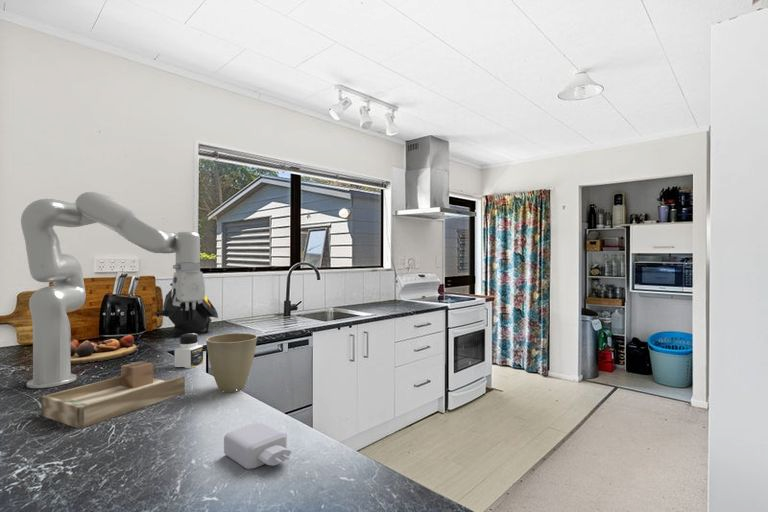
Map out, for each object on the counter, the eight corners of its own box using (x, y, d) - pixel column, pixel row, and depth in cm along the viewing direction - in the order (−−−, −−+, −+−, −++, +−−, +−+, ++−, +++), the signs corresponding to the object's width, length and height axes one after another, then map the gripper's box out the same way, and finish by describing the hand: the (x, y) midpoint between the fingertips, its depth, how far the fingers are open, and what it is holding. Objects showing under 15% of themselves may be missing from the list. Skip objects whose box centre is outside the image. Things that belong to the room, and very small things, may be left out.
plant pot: (210, 400, 114) (210, 344, 114) (202, 386, 127) (202, 336, 127) (263, 391, 122) (262, 338, 122) (250, 378, 135) (250, 331, 135)
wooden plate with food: (144, 345, 189) (144, 327, 189) (124, 360, 159) (124, 340, 159) (63, 352, 179) (63, 333, 179) (25, 370, 149) (25, 347, 149)
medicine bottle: (191, 368, 147) (191, 336, 148) (174, 367, 149) (174, 335, 149) (203, 363, 154) (203, 332, 155) (187, 362, 156) (187, 332, 156)
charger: (263, 484, 72) (223, 456, 82) (305, 464, 79) (263, 441, 89) (263, 457, 72) (223, 433, 82) (305, 440, 79) (263, 419, 89)
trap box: (41, 415, 104) (41, 396, 104) (147, 384, 129) (147, 369, 129) (79, 428, 96) (79, 407, 96) (184, 393, 120) (184, 376, 121)
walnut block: (121, 385, 120) (121, 365, 120) (141, 380, 125) (141, 361, 125) (133, 388, 117) (133, 368, 117) (153, 382, 123) (153, 363, 123)
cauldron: (169, 320, 231) (206, 293, 239) (191, 352, 217) (229, 322, 225) (140, 296, 208) (182, 267, 217) (162, 330, 195) (206, 298, 203)
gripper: (175, 268, 129) (175, 325, 128) (213, 267, 142) (214, 319, 142) (160, 268, 132) (160, 324, 132) (199, 267, 145) (199, 318, 145)
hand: (188, 321), depth 137 cm, fingers closed
